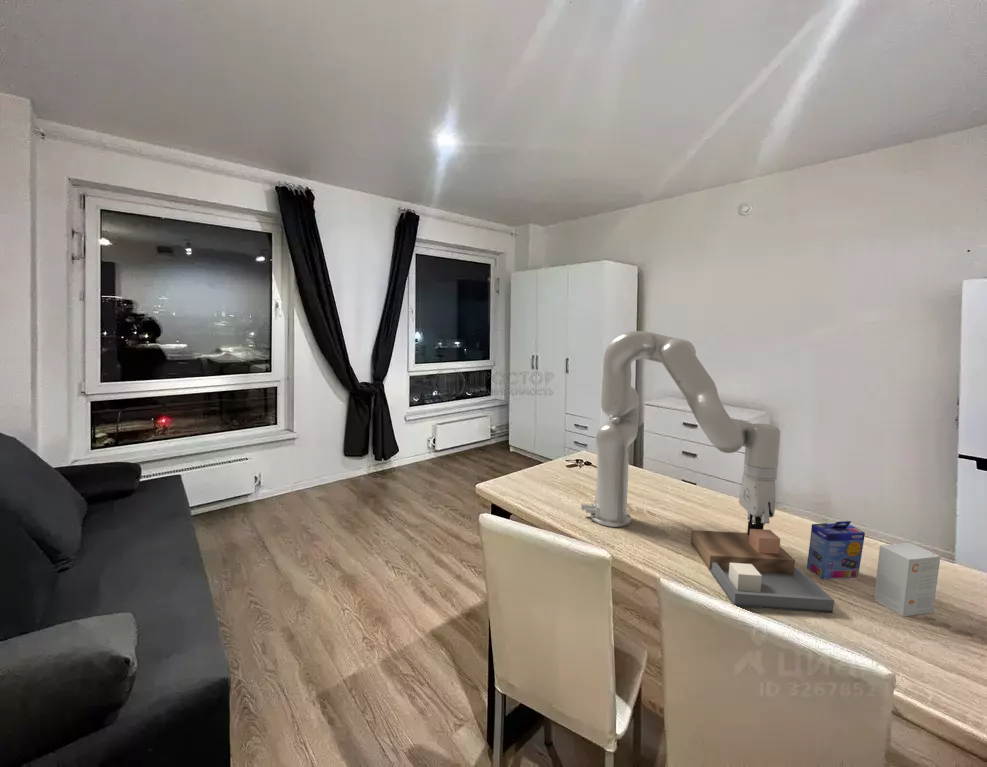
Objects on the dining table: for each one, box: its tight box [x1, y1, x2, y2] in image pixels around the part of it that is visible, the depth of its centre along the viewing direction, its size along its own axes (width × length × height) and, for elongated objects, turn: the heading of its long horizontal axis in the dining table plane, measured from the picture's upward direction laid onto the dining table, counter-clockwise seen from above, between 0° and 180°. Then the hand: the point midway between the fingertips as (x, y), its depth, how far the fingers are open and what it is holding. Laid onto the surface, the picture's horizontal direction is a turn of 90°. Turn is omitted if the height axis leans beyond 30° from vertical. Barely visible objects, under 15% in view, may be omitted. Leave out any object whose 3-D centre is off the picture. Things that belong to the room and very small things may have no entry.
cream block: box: [728, 563, 762, 592], centre depth 102 cm, size 5×5×4 cm
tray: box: [709, 562, 835, 614], centre depth 101 cm, size 20×14×3 cm
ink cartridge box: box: [806, 520, 866, 581], centre depth 108 cm, size 10×6×14 cm, turn 95°
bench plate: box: [690, 529, 797, 574], centre depth 115 cm, size 20×14×4 cm
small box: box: [873, 542, 941, 618], centre depth 95 cm, size 8×6×13 cm
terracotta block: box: [749, 528, 781, 554], centre depth 113 cm, size 5×5×4 cm
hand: (754, 536), depth 118 cm, fingers closed
